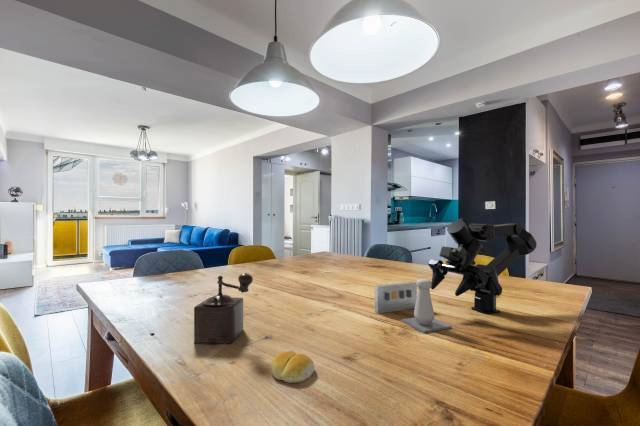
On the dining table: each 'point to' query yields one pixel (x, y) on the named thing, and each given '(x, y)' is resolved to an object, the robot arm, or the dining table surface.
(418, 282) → the salt shaker
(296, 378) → the bread roll
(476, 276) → the robot arm
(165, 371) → the dining table surface
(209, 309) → the manual coffee grinder
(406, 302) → the breaker panel
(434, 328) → the slate pad
